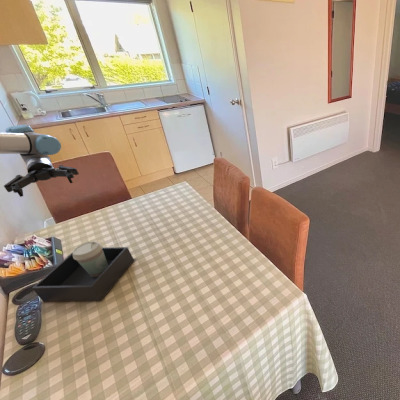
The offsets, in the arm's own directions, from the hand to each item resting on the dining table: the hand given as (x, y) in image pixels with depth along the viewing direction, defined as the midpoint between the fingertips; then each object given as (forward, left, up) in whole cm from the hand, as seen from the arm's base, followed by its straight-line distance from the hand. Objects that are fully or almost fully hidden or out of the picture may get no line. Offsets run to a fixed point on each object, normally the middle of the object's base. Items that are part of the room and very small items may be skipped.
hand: (45, 186), depth 95 cm
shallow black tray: (+13, -15, -32) cm, 37 cm away
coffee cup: (+14, -12, -31) cm, 36 cm away
